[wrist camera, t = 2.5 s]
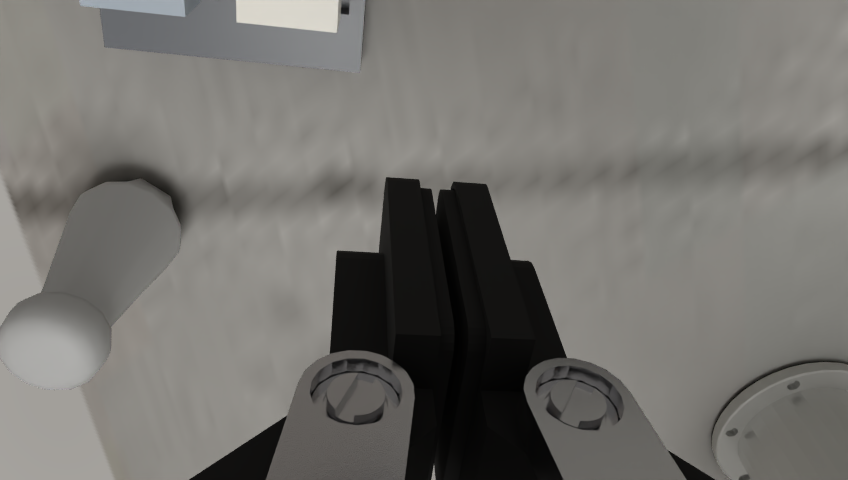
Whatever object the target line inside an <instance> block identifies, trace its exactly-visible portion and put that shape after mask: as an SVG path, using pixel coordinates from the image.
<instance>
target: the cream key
mask: <svg viewBox="0 0 848 480" xmlns="http://www.w3.org/2000/svg"><path fill="white" fill-rule="evenodd" d="M340 18H341V0H236V21H237V22H238V23H247V24H257V25H266V26H276V27H285V28H295V29H304V30H314V31H323V32H332V33H337V31H338V26H339V22H340Z"/></svg>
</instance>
